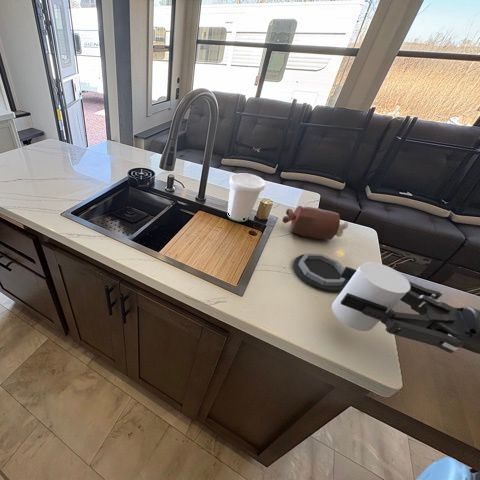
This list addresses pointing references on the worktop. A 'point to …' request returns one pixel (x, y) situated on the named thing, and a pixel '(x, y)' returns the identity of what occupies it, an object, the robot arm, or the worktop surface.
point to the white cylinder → (370, 293)
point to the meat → (315, 222)
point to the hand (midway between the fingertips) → (343, 284)
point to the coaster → (320, 272)
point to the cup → (243, 195)
